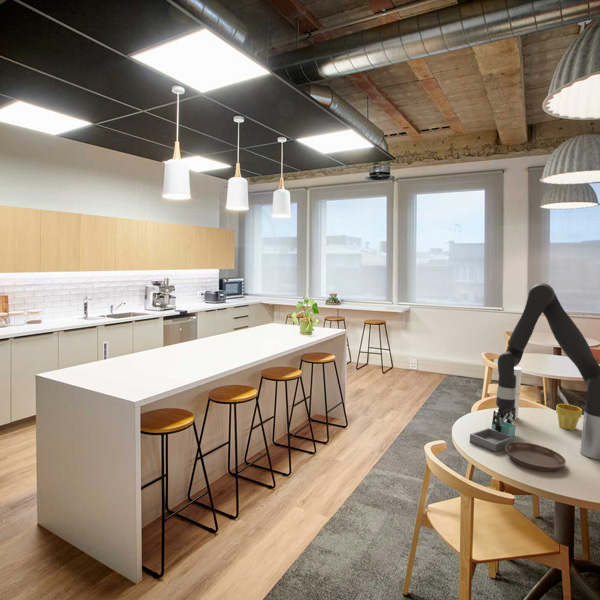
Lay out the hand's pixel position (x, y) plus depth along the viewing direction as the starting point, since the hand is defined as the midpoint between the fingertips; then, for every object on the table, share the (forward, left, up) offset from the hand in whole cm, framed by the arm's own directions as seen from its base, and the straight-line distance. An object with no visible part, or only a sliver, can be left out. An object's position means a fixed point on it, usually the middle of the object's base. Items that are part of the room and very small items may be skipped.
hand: (503, 431), depth 191 cm
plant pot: (-36, +11, -2) cm, 38 cm away
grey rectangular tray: (+14, +3, -1) cm, 14 cm away
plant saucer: (+14, +21, -2) cm, 25 cm away
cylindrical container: (-25, -11, -2) cm, 27 cm away
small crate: (0, 0, -1) cm, 1 cm away
